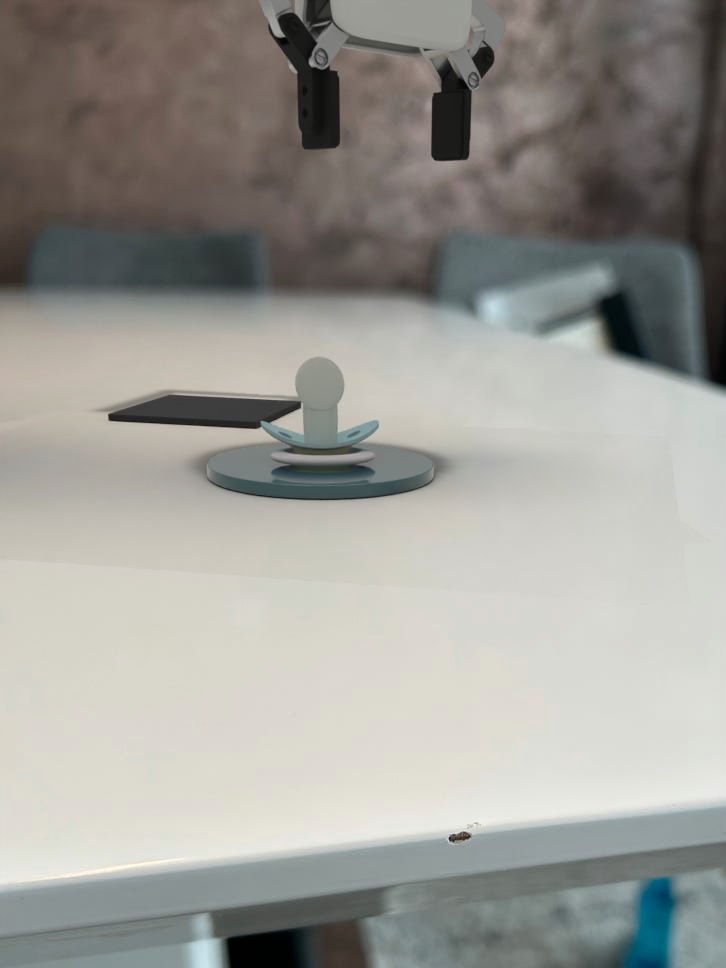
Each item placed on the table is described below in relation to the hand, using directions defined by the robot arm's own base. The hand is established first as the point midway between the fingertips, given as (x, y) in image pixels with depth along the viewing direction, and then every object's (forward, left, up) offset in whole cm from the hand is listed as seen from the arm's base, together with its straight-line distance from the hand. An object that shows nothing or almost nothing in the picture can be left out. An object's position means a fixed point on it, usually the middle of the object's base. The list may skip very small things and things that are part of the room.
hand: (388, 154), depth 68 cm
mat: (-18, +16, -19) cm, 31 cm away
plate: (-3, -6, -19) cm, 20 cm away
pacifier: (-3, -6, -18) cm, 19 cm away
